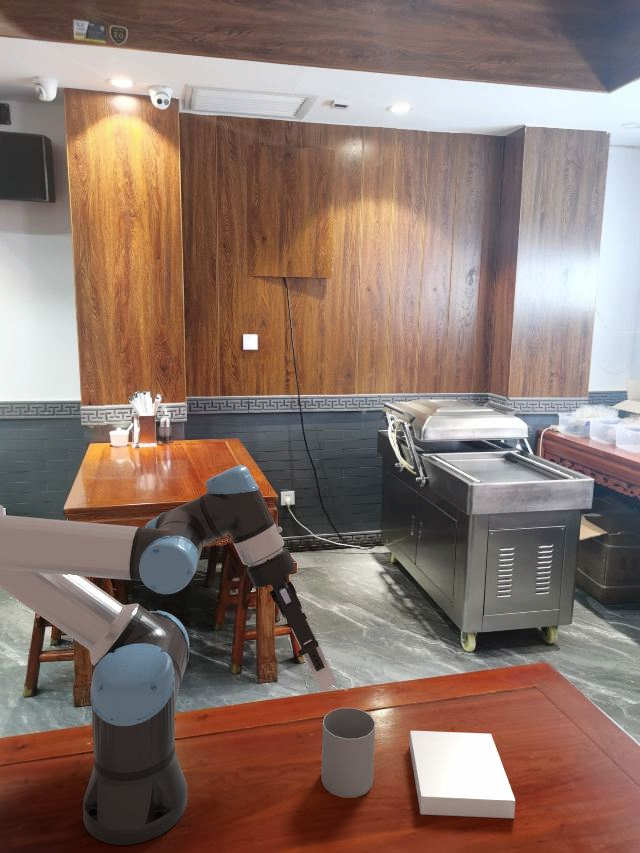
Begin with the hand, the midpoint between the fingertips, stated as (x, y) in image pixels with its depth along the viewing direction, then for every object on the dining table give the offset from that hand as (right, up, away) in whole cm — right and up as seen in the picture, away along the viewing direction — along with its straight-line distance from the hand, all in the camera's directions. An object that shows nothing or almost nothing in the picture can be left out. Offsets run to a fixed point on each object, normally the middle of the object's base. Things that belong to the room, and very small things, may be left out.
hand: (320, 671), depth 107 cm
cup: (+4, -17, -2) cm, 18 cm away
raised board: (+22, -17, -1) cm, 28 cm away
